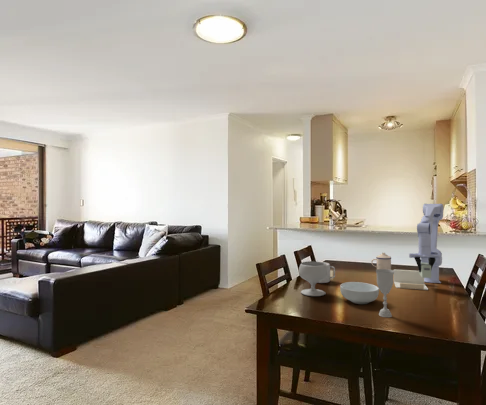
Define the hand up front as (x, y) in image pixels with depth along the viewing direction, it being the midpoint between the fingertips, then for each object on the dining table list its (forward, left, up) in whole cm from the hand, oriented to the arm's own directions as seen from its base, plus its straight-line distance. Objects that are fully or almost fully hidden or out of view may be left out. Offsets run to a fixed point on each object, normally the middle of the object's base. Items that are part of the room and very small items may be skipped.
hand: (424, 271), depth 176 cm
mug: (-1, -52, -9) cm, 53 cm away
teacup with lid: (-39, -19, -9) cm, 44 cm away
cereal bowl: (+33, -32, -9) cm, 47 cm away
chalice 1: (+26, -54, -9) cm, 61 cm away
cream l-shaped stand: (-3, -7, -8) cm, 11 cm away
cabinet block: (0, 0, -2) cm, 2 cm away
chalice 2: (+49, -22, -9) cm, 55 cm away
